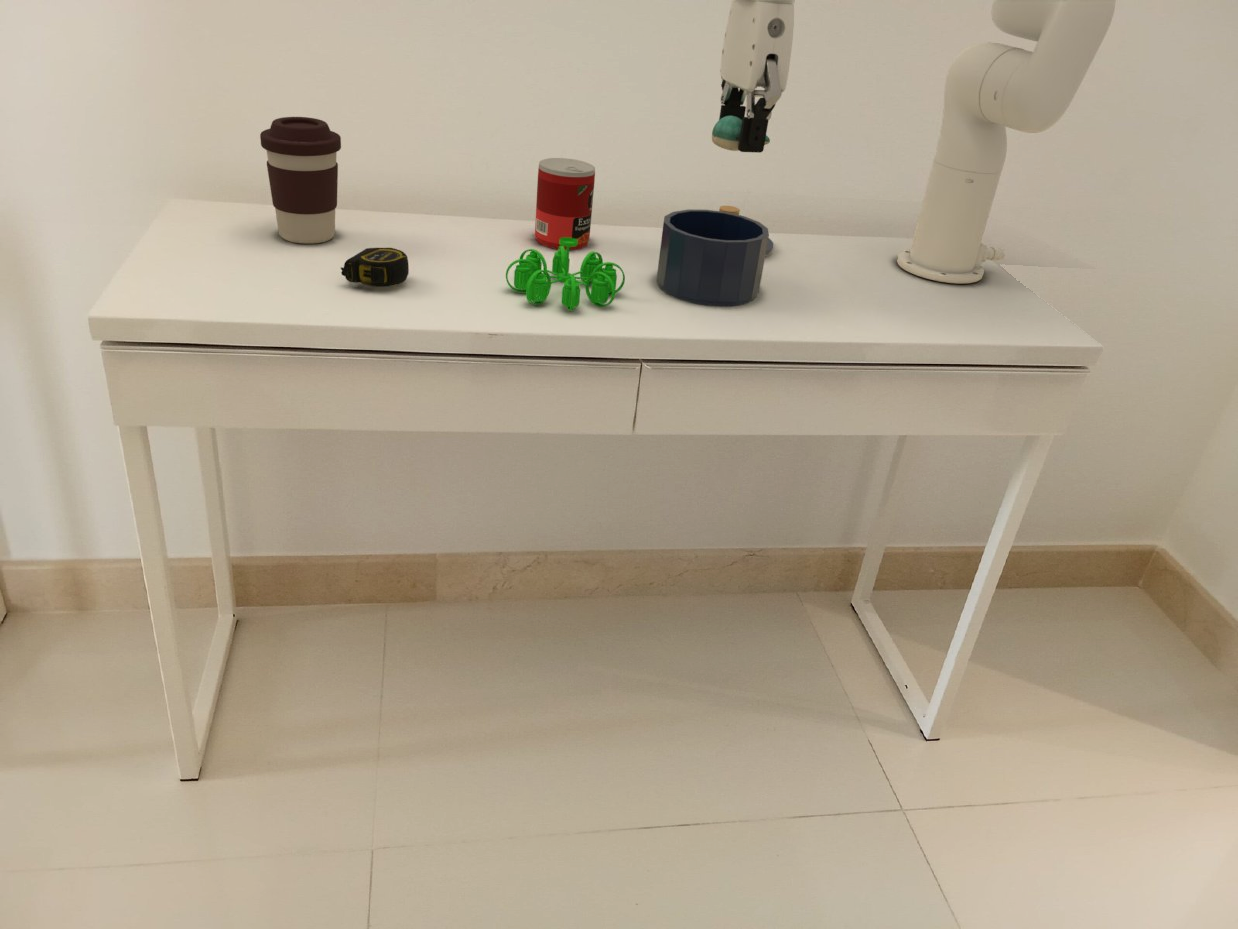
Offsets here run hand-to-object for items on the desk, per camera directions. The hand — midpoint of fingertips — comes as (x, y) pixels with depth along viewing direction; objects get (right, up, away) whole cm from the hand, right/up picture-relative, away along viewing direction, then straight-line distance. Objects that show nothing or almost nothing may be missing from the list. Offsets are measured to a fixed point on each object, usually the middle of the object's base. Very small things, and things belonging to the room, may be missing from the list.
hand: (739, 143), depth 123 cm
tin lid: (+1, -6, +25) cm, 26 cm away
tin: (-3, -16, +9) cm, 19 cm away
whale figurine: (0, -1, 0) cm, 1 cm away
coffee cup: (-57, -9, +11) cm, 59 cm away
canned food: (-23, -8, +20) cm, 31 cm away
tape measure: (-45, -18, -1) cm, 49 cm away
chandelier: (-22, -19, +2) cm, 29 cm away
